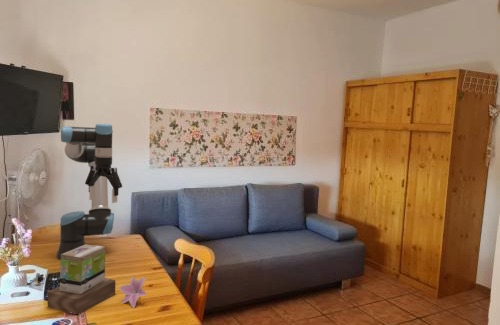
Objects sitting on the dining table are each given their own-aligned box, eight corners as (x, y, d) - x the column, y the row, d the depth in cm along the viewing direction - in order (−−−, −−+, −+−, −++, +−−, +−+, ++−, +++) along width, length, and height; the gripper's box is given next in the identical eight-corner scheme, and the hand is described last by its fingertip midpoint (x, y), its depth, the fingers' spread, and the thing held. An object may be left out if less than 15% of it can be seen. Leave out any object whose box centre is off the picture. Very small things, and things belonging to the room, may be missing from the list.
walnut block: (47, 306, 142) (47, 291, 142) (87, 287, 161) (87, 273, 160) (77, 315, 137) (77, 299, 136) (115, 294, 155) (115, 280, 155)
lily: (118, 299, 153) (112, 284, 148) (144, 283, 159) (139, 268, 153) (130, 318, 145) (123, 303, 140) (157, 301, 151) (152, 286, 145)
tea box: (81, 295, 140) (82, 257, 139) (59, 291, 142) (59, 254, 141) (105, 280, 154) (106, 245, 153) (84, 277, 157) (85, 243, 155)
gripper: (77, 155, 176) (77, 199, 177) (119, 158, 167) (118, 205, 168) (89, 154, 183) (89, 197, 184) (130, 157, 174) (129, 202, 175)
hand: (103, 201), depth 176 cm, fingers open, 13 cm apart
